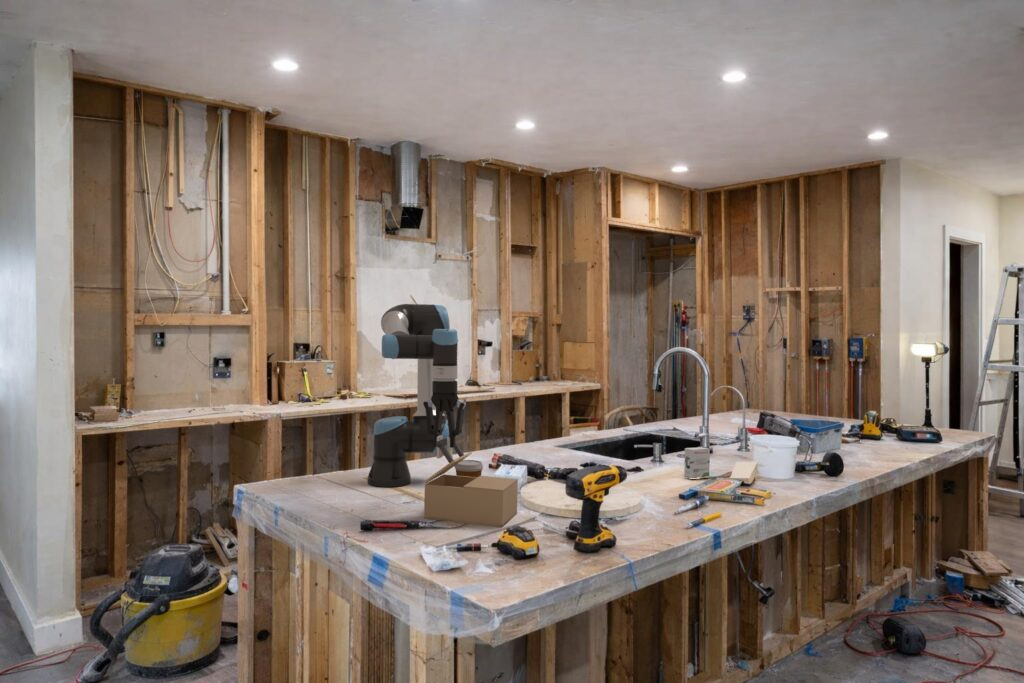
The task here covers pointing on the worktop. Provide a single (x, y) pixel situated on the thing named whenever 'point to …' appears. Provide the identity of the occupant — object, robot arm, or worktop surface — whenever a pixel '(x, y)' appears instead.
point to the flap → (448, 458)
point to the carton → (471, 499)
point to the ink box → (696, 462)
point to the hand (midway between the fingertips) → (444, 457)
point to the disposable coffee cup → (469, 468)
